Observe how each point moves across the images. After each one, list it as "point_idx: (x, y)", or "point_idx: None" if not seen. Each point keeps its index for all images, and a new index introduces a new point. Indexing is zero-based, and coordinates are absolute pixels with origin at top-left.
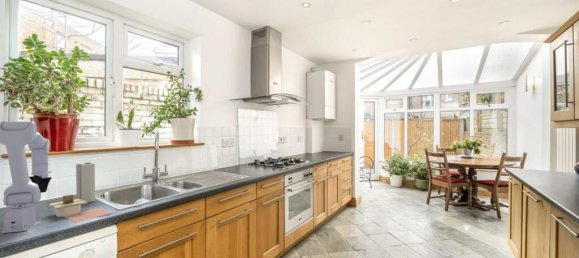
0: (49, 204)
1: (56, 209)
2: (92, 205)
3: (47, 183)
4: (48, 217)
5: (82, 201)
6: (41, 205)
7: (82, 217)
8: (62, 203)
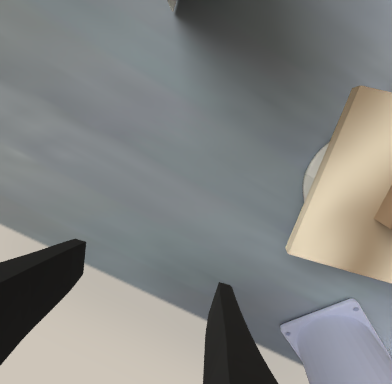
0: (294, 254)
1: None
2: (350, 3)
3: (266, 381)
4: None
5: None
6: (44, 130)
7: None
8: (376, 225)
